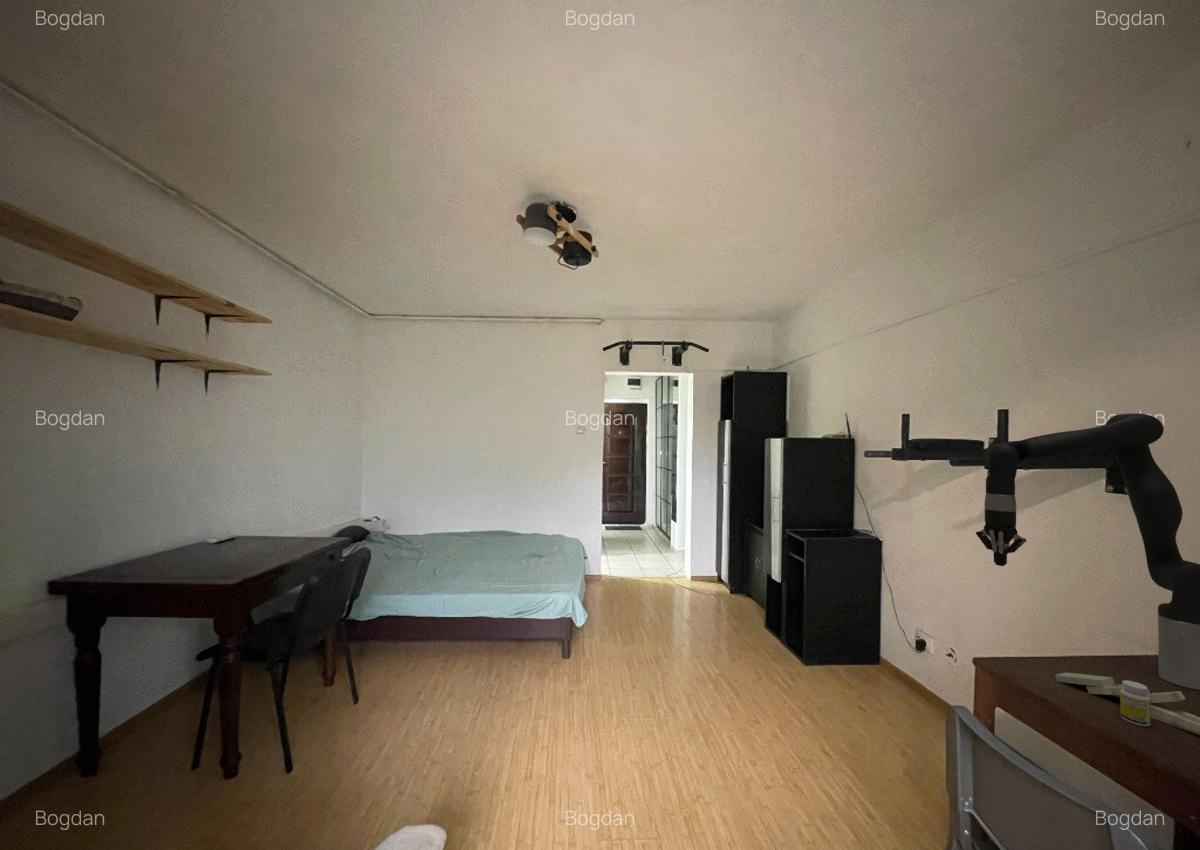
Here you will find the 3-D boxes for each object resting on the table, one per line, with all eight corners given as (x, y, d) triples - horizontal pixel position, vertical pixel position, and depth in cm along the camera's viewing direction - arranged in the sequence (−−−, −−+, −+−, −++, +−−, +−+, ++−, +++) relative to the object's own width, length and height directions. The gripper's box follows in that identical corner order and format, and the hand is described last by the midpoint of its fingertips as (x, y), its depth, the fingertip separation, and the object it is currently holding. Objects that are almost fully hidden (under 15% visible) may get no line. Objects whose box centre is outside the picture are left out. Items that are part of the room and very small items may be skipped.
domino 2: (1096, 683, 127) (1146, 685, 119) (1099, 690, 127) (1149, 692, 118) (1086, 686, 125) (1135, 688, 117) (1089, 693, 125) (1139, 696, 116)
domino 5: (1150, 705, 118) (1215, 728, 108) (1150, 712, 117) (1215, 735, 108) (1141, 709, 115) (1206, 733, 106) (1141, 716, 115) (1206, 740, 106)
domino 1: (1065, 672, 133) (1112, 677, 124) (1067, 678, 133) (1114, 684, 124) (1055, 675, 131) (1101, 680, 123) (1057, 681, 131) (1104, 687, 122)
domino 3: (1127, 695, 122) (1180, 691, 114) (1131, 702, 121) (1185, 698, 114) (1119, 697, 119) (1173, 693, 112) (1124, 704, 118) (1178, 701, 111)
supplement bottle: (1131, 715, 115) (1131, 679, 115) (1156, 726, 110) (1156, 689, 111) (1114, 715, 114) (1114, 679, 115) (1139, 727, 110) (1139, 690, 110)
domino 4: (1156, 701, 117) (1219, 724, 107) (1157, 708, 117) (1219, 732, 107) (1143, 703, 115) (1205, 727, 106) (1143, 710, 115) (1205, 735, 106)
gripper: (1033, 511, 144) (1033, 570, 144) (984, 505, 157) (984, 559, 156) (1018, 512, 142) (1018, 571, 141) (969, 506, 154) (969, 561, 153)
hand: (1000, 565), depth 148 cm, fingers closed
